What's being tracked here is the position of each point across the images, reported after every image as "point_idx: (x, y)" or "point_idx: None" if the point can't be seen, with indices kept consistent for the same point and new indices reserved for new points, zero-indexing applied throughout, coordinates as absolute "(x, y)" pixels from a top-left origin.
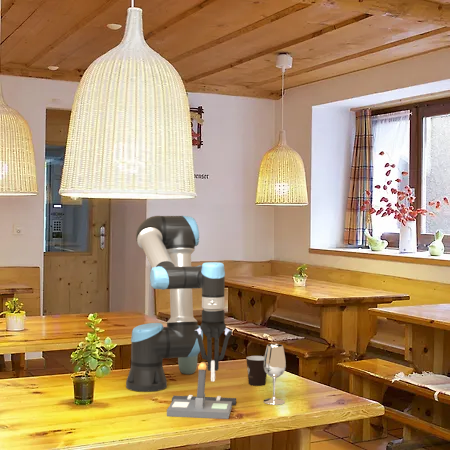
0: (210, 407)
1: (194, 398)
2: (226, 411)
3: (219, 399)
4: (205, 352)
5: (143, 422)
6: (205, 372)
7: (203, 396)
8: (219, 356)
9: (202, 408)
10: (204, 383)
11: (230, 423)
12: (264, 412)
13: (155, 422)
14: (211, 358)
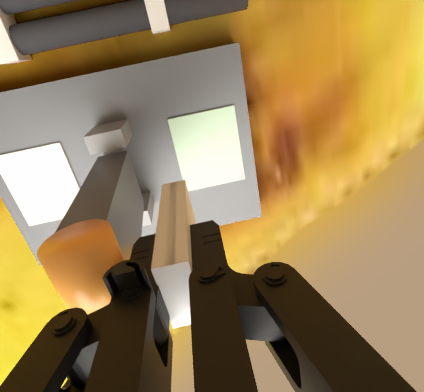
0: (177, 177)
1: (31, 38)
2: (251, 205)
3: (168, 24)
4: (63, 372)
5: (22, 322)
6: (121, 237)
7: (136, 184)
8: (258, 337)
9: (154, 204)
10: (131, 212)
11: (272, 243)
12: (376, 76)
13: (55, 310)
14: (161, 316)
